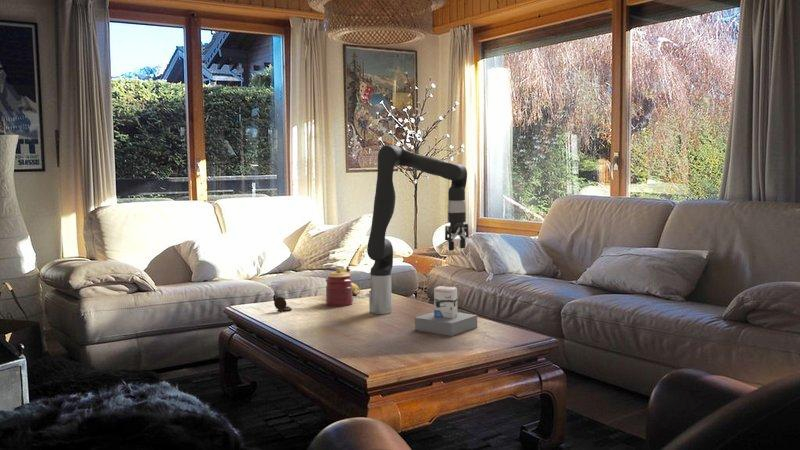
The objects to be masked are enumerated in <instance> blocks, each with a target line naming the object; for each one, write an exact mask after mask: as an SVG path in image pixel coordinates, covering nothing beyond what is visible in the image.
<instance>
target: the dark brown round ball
mask: <svg viewBox="0 0 800 450" xmlns="http://www.w3.org/2000/svg"><path fill="white" fill-rule="evenodd" d="M273 304H274V307H275V309H277V310H278V312H281V311H282V313H283V312H285V313H286V312H291V311H292V307H291V306H287V305H288V304H287V301H286V299H285V298H284V297H282V296H277V297H276V298H274V301H273Z"/></svg>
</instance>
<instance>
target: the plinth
mask: <svg viewBox="0 0 800 450" xmlns="http://www.w3.org/2000/svg"><path fill="white" fill-rule="evenodd" d="M476 328H478V314H471V313H465V312H458V311H457V316H456V317H454V318H445V317H435V316H434V311H433V312H429V313H425V314H423V315H419V316H416V317H414V331H420V332H425V333H433V334H437V335H438V334H439V335H442V336H443V335H444V336H449V337H453V336H456V335H459V334H462V333H465V332H467V331H470V330H473V329H476Z"/></svg>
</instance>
